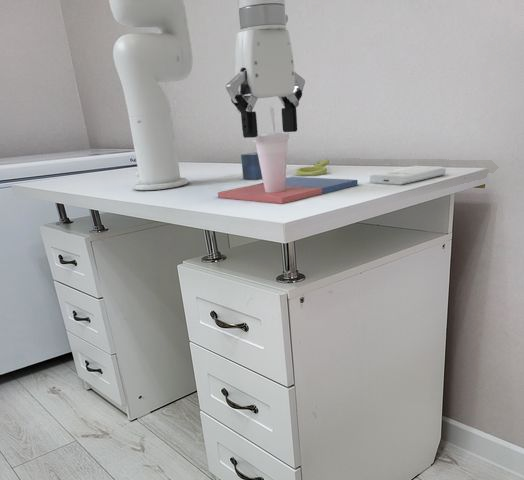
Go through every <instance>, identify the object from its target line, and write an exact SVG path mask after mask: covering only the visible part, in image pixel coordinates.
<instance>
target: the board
mask: <svg viewBox="0 0 524 480" xmlns="http://www.w3.org/2000/svg"><path fill="white" fill-rule="evenodd" d="M358 183H359V182H358V179H347V178H346V179H345V178H325V177H324V178H323V177H307V176H306V177H305V176H304V177H303V176H301V177H300V176H289V177H286V183H285V190H284V191H281V192H265V188H264V183H263V182H261V183H255V184H251V185H246V186H241V187H235V188H232V189H226V190H221V191H218V192H217V195H218V196H217V197H218V198H219V199H220V198H221V199H231V200H240V201H241V200H242V201H250V202H251V201H252V202H260V203H273V204H286V203H291V202H294V201H300V200H302V199H307V198H310V197H316V196H319V195H323V194H327V193H333V192H335V191H340V190H344V189H348V188H352V187H356V186H358Z"/></svg>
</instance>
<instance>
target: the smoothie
mask: <svg viewBox="0 0 524 480" xmlns="http://www.w3.org/2000/svg"><path fill="white" fill-rule="evenodd" d="M269 112H270V123H271V133H270V132H269V133H260V134H258V136H257V137H252V138H253V143H254V144H255V148H256V152H257V153H258V158H259V163H260V168H261V173H262V183H264V188H265V192H281V191H284V190H285V183H286V178H287V162H288V161H287V160H288V140H290V134H289V133H290V132H276V126H275V125H276V124H275V112H274V107H273V106H272V107H269Z"/></svg>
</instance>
